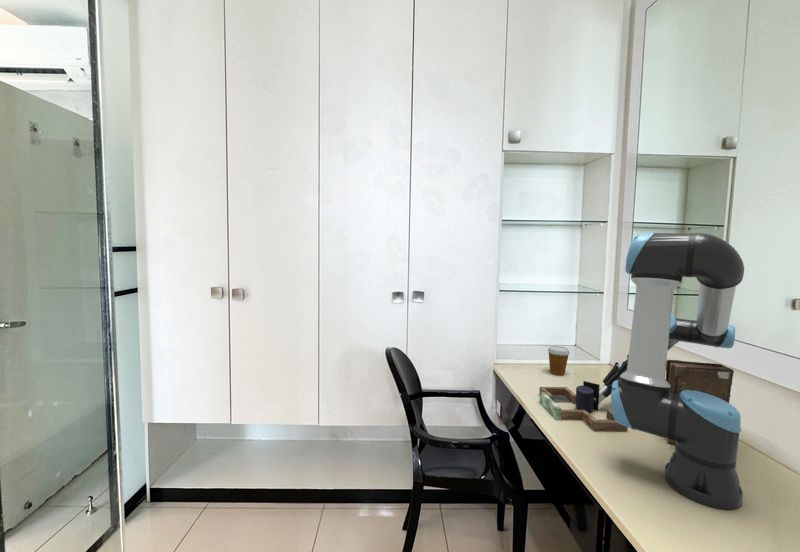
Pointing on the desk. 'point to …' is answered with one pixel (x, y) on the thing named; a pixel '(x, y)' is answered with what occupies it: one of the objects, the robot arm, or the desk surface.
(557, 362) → the disposable coffee cup
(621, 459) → the desk surface
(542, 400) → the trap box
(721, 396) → the book
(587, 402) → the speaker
